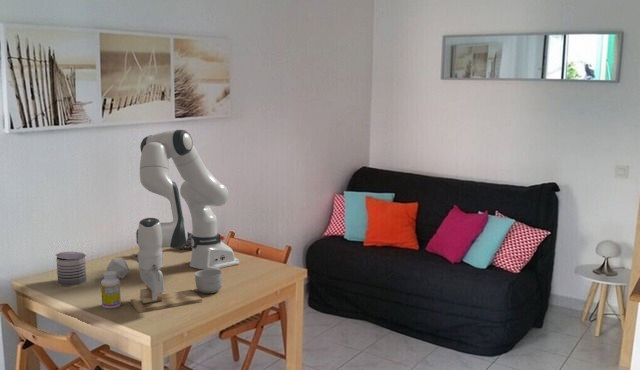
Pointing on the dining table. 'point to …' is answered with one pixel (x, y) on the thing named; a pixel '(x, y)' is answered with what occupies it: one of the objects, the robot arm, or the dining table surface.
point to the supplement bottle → (110, 290)
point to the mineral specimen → (188, 243)
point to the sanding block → (149, 296)
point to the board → (168, 301)
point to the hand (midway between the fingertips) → (152, 297)
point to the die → (118, 267)
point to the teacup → (208, 280)
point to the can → (71, 268)
